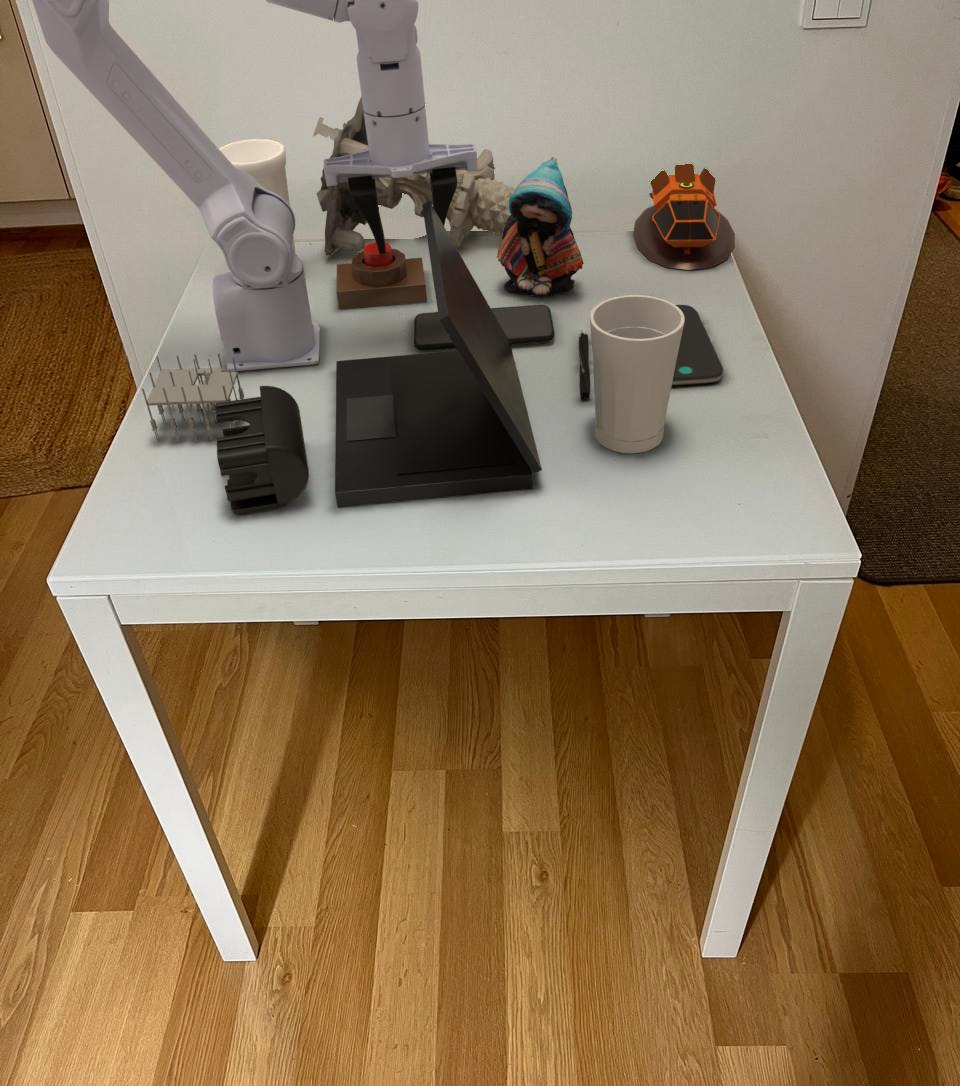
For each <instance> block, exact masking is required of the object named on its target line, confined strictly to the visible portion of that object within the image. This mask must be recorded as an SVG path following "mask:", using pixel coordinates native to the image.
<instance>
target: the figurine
mask: <svg viewBox="0 0 960 1086" xmlns="http://www.w3.org/2000/svg"><path fill="white" fill-rule="evenodd" d="M509 212H510V214H511V215H510V217H509V218H508V219H507V222H506V223H505V227H504V232H503V234H501V235H502V236H501V242H500V244H499V246H498V249H497V254H496V258H497V262H500V263H499V264H500V265H501V266H502V267H503V268H504V270H505V272H506V274H507V276H508V277H509V279H508V280H507V281H506V282H505V283H504V285H503V288H504V290H505V291H506V292H507V293H509V294H518V295H526V296H529V297H535V298H545V297H546V298H547V297H552V296H556V295H563V294H565V293H568V292H570V291H571V290H572V289H574V285H575V279H572V278H573V276H574V275H575V274H576V273H578V271H579V270H582V269H583V265H584V264H585V263H584V260H583V256H582V253H581V250H580V249H579V246H578V243H577V241H576V239H575V234H574V232H573V229H572V227H571V223H572V220H573V209H572V205H571V202H570V199H569V195H568V191H567V188H566V185H565V182H564V178H563V174H562V171H561V170H560V168H559V164H558V162H557V158H556V157H555V156H551V158H550V159H549V160H546V161H543V162H541V164H540V165H539V166H538V167H537V168H536V169H535V170H534V169H533V171H532V172H530V173H529V174H528V175H527V176H526V177H524V179H523V180H522V181H521V182H520V183H518V185H517V186H516V188H515V191H514V193H513V194H511V196H510V199H509Z"/></svg>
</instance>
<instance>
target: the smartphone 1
mask: <svg viewBox="0 0 960 1086" xmlns="http://www.w3.org/2000/svg"><path fill="white" fill-rule="evenodd" d="M490 308H491V310H492V312H493V313H494V315H495V317H496V319H497V320H498V322H499V324H500V326H501V327H502V329H503V331H504V333H505V334H506V336H507V338H508V340H509V341H510V344H511V346H513V345H524V344H525V345H526V344H540V343H541V344H542V343H548V342H549V343H550V342H551V341H553V340H554V338H555V336H556V335H555V334H556V333H555V328H554V322H553V316H552V310H551V308H550V307H549V306H548V305H546V304H533V305H517V306H516V305H515V306H504V307H503V306H502V307H490ZM413 346H414V348H415V349H416V350H417V351H422V352H423V351H424V352H426V351H439V350H441V351H442V350H452V349H453V350H454V349H455V350H456V349H457V348H456V347H455V345H454V344H453V342H452V340H451V339H450V337H449V335H448V334H447V332H446V331H445V329H444V327H443V326H442V324H441V322H440V321H439V316H438V311H434V312H433V311H432V312H421V313H419V314H416V316H415V317H414V319H413Z"/></svg>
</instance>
